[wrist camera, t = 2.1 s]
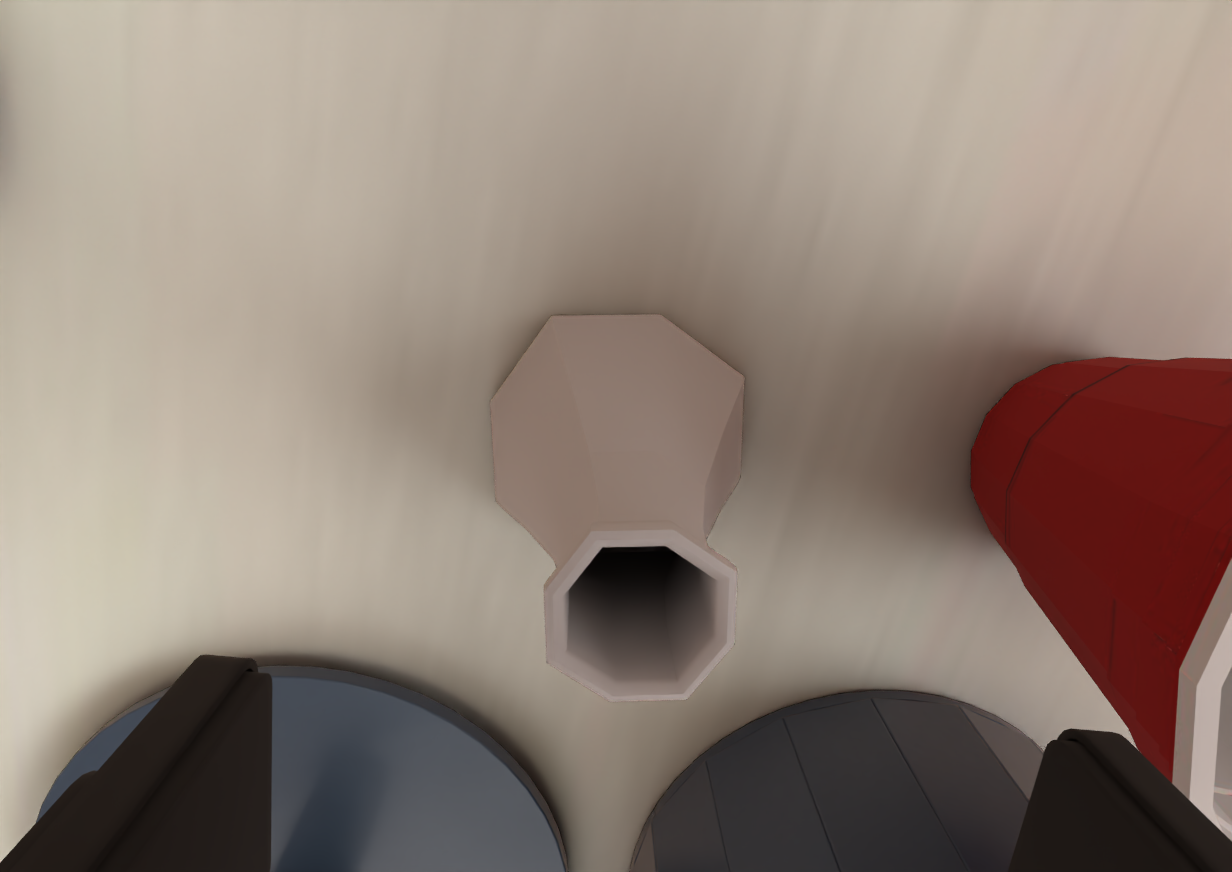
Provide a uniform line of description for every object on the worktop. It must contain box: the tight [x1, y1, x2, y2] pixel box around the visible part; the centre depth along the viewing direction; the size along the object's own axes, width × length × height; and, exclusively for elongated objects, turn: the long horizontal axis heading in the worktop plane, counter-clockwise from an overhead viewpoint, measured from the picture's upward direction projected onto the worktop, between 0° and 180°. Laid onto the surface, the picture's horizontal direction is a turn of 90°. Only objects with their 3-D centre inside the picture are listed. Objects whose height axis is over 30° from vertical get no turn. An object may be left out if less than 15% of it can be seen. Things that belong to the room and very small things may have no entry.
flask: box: [490, 314, 745, 702], centre depth 17 cm, size 7×7×10 cm
